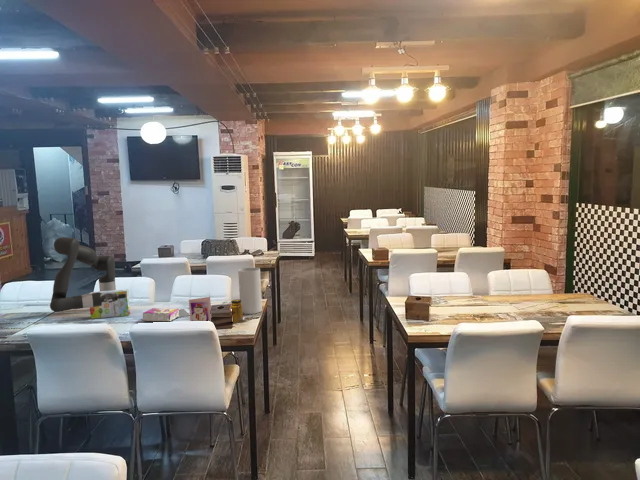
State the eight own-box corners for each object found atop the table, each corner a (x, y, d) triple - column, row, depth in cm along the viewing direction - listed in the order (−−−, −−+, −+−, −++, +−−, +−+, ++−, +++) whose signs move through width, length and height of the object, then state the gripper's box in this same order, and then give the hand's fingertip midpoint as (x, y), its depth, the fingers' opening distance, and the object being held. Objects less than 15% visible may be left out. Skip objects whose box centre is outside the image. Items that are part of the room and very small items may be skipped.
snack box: (130, 313, 300) (128, 288, 298) (128, 316, 294) (126, 290, 293) (93, 316, 296) (90, 291, 295) (90, 319, 291) (88, 293, 289)
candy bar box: (152, 307, 290) (179, 308, 287) (153, 315, 291) (179, 316, 287) (142, 312, 279) (169, 313, 276) (142, 321, 280) (170, 322, 277)
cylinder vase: (240, 315, 287) (238, 272, 284) (240, 309, 299) (238, 268, 296) (262, 313, 289) (260, 270, 286) (261, 308, 301) (259, 267, 298)
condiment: (228, 322, 273) (227, 300, 272) (240, 318, 280) (239, 297, 278) (237, 324, 269) (236, 302, 267) (249, 320, 275) (248, 299, 274)
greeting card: (189, 327, 265) (188, 300, 264) (195, 323, 273) (193, 296, 271) (210, 328, 264) (208, 300, 262) (215, 323, 271) (213, 296, 269)
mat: (154, 321, 280) (154, 320, 280) (149, 314, 295) (149, 314, 295) (190, 315, 289) (190, 315, 289) (183, 309, 304) (183, 308, 304)
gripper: (91, 296, 266) (126, 291, 274) (90, 291, 278) (123, 286, 286) (93, 309, 267) (127, 304, 275) (91, 304, 279) (124, 299, 287)
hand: (125, 295), depth 280 cm, fingers closed
